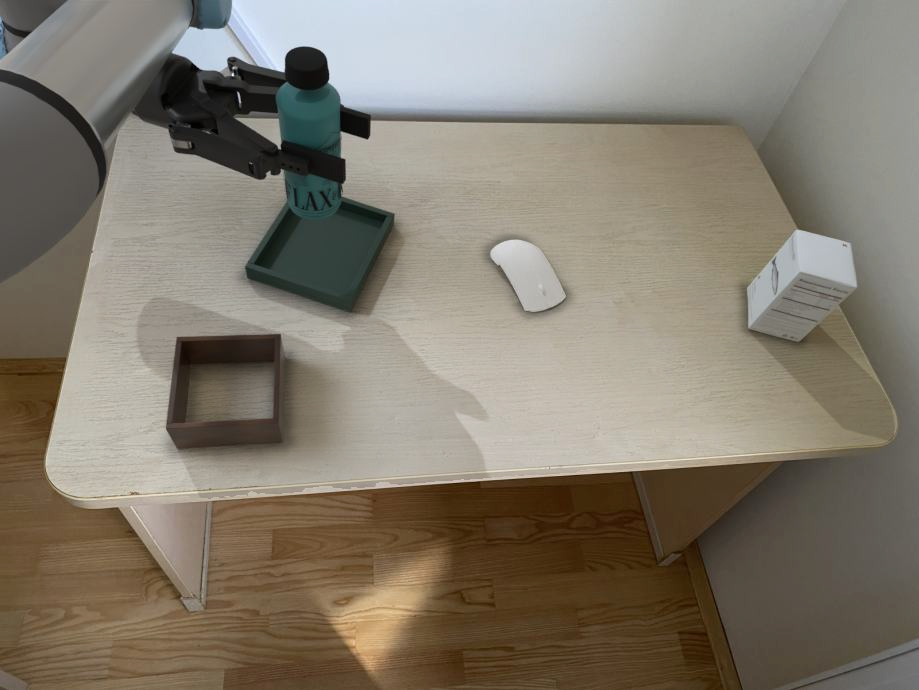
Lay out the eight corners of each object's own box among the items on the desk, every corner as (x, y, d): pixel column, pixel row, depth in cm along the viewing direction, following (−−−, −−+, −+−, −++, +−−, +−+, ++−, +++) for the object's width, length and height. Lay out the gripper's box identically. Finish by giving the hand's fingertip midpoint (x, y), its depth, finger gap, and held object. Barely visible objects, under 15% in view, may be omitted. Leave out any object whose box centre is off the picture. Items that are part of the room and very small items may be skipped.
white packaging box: (744, 288, 92) (795, 226, 82) (796, 301, 92) (854, 241, 82) (745, 330, 88) (799, 271, 78) (799, 344, 88) (860, 287, 78)
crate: (176, 449, 69) (165, 428, 65) (186, 360, 75) (176, 336, 71) (283, 443, 71) (278, 423, 67) (284, 357, 77) (280, 333, 72)
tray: (350, 312, 81) (350, 301, 79) (247, 278, 82) (244, 266, 80) (393, 225, 90) (394, 213, 88) (300, 194, 90) (299, 182, 88)
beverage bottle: (276, 219, 76) (255, 65, 59) (302, 182, 80) (289, 27, 63) (329, 237, 76) (322, 88, 59) (352, 199, 79) (352, 48, 62)
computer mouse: (527, 316, 84) (531, 306, 82) (482, 249, 89) (485, 238, 88) (570, 300, 87) (575, 289, 85) (524, 235, 92) (527, 224, 90)
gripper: (200, 64, 77) (387, 121, 77) (107, 172, 67) (322, 239, 66) (187, 2, 71) (390, 63, 70) (81, 111, 61) (319, 184, 60)
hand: (356, 148), depth 68 cm, fingers closed on beverage bottle, 6 cm apart
